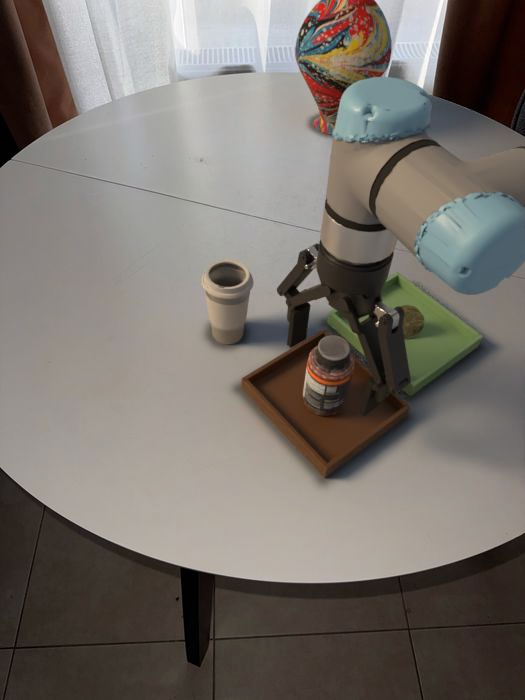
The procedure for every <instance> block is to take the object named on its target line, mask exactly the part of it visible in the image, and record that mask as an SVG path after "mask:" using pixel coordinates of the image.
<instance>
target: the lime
mask: <svg viewBox="0 0 525 700" xmlns="http://www.w3.org/2000/svg"><path fill="white" fill-rule="evenodd" d="M400 307H401V308H403V310H404V320H403V326H402V327H403V334H404V339H407V338H410V337H413V336H415V335H417V334H418V333H420V332H421V330H422V329H423V327H424V316H423V314H422V313H421V312H420V311H419V309H418V308H416V307H415V306H409V305H404V306H400Z"/></svg>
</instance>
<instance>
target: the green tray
mask: <svg viewBox="0 0 525 700" xmlns="http://www.w3.org/2000/svg"><path fill="white" fill-rule="evenodd" d="M381 297H382V303H384V304H385V305H387V306H388V307H390V308H391V309H394V308H395V307H397V306H404V305H409V306H415V307H416V308H418V309H419V311H420V312H421V313H422V314H423V316H424V327H423V329H422V330H421V332H420V333H418V334H417V335H415V336H413V337H410V338H407V339H404V340H405V346H406V353H407V359H408V365H409V372H410V378H411V383H410V384H409V385H408V386H406V387H405V388H403V389H402V390H401V391H403V392H404V393H405V394H406V395H408V396H409V397H412V396H413V395H415V394H416V393H417V392H418V391H420V390H421V389H423V388H424V387H425V386H426V385H428V384H429V383H431V382H432V381H434V380H435V379H436V378H437V377H439V376H441V375H442V374H443V373H444V372H446V371H447V370H448V369H450V368H451V367H453V366H454V365H455V364H456V363H458V362H460V361H461V360H462V359H464V358H465V357H466V356H467V355H469V354H470V353H472V352H473V351H475V349H477V348H479V346H480V344H481V342H482V340H483V338H484V336H483V335H482V334H481V333H480V332H478V331H477V330H475V329H474V328H473V327H472V326H470V325H469V324H468V323H466V322H465V321H464V320H462V319H461V318H460V317H458V316H457V315H456V314H454V313H453V312H452V311H450V310H449V309H448V308H447V307H445V306H444V305H443V304H441V302H439V301H437V300H436V299H435V298H433V297H432V296H431V295H429V294H428V293H426V292H425V291H424V290H423V289H421V288H420V287H419V286H417V285H416V284H415V283H414V282H412V281H411V280H410V279H408V278H407V277H406V276H405V275H403V274H402V273H401V272H400V271H397V272H395V273H393V274H391V275H390V276H388V278H387V280H386V282H385V284H384V286H383V288H382V290H381ZM368 317H369V315H366V316H364V317H361V318H359V322H362V321H364V320H365V319H367V318H368ZM326 323H327V325H329V326H330V327H331V328H332V329H333V330H334V331H335V332H337V334H339V336H340V337H342V338H343V339H345V340H346V341H347V342H348V344H349V345H351V346H352V347H354V349H356V350H357V351H358V352H359V353H360V354H362V356H363V357H365V354H364V351H363V349H362V346H361V343H360V341H359V338H358V335H357V334H356V333H353V332H352V330H351V328H350V325H349V322H348V320H347V319H345V318H344V317H343V316H342V315H341V314H340V312H339V311H338V310H336V309H334V308H333V309H332V310H330V311H329V312H328V316H327V321H326Z"/></svg>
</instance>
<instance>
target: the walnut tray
mask: <svg viewBox="0 0 525 700" xmlns="http://www.w3.org/2000/svg"><path fill="white" fill-rule="evenodd" d="M331 335H332V334H330V332H328V331H327V330H326V329H325V328H323V329H321V330H320V331H318V332H316V333H315V334H312V335H311V336H309V337H307V338H306V339H305V340H304V341H302V342H300V343H299V344H297V345H295V346H294V347H292V348H290V349H288V350H286V351H285V352H283V353H281V354H280V355H278V356H276V357H274V358H273V359H271V360H270V361H268V362H266V363H264V364H263V365H261V366H260V367H258V368H257V369H255V370H253V371H251V372H250V373H248V374H246V375H244V376H243V377H241V385H240V386H241V390H242V392H244V393H245V395H247V396H248V398H250V400H251V401H252V402H253V403H254V404H255V405H256V406H257V407H258V408H259V410H261V411H262V412H263V414H265V416H266V417H267V418H268V419H269V420H270V421H271V423H272V424H273V425H275V426H276V428H277V429H278V430H279V431H280V432H281V433H282V434H283V436H284V437H286V439H287V440H288V441H289V442H290V443H291V444H292V445H293V446H294V447H295V448H296V449H297V451H299V452H300V454H301V455H302V456H303V457H304V458H305V459H306V460H307V461H308V462H309V463H310V464H311V465H312V466H313V468H314V469H315V470H316V471H317V472H318V473H319V474H320V475H321V476H322V477H323V479H325V478H327V477H329V476H330V475H331V474H332V473H335V471H336V470H338V469H339V468H340V467H342V466H343V465H345V464H346V463H347V462H349V461H350V460H352V459H353V458H354V457H355V456H357V455H358V454H359V453H360V452H362V451H363V450H364V449H366V448H367V447H368V446H369V445H371V444H372V443H373V442H375V441H376V440H378V439H379V438H380V437H381V436H383V435H384V434H386V433H387V432H388V431H390V430H391V429H392V428H394V427H395V426H396V425H398V424H399V423H400V422H402V421H404V419H406V418H407V417H408V416H409V413H410V410H411V408H412V406H411V405H410V404H409V403H407V402H406V400H404V399H403V398H402V396H400V395H398V393H396V394H395V395H393V394H391V393H389V396H387V397H386V398H385V399H383V400H382V401H380V404H379V406H378V407H376V408H375V409H374V410H372V411H371V412H369V413H368V414H367V415H365V416H364V417H363V416H362V415H361V414H360V413H359V411H360V408H361V404H362V401H363V397H364V394H365V390H366V386H367V383H368V380H369V379H370V378H372V377H373V375H372V373H371V370H370V368H369V367H368V366H366V365H365V364H364V363H363V362H362V361H361V360H360V359H358V358H357V357H356V356H355V355H354V354H353V353H352V352H350V353H351V354H352V356H353V358H354V363H355V364H354V371H353V375H352V379H351V383H350V387H349V391H348V396H347V400H346V403H345V405H344V407H343V409H342V410H341V411H340V412H338V413H337V414H335V415H331V416H321V415H317V414H315V413H313V412H312V411H310V410H309V409H308V408H307V407H306V405H305V404H304V401H303V389H304V382H305V375H306V367H307V362H308V357H309V354H310V352H311V351H312V350H313V349H314V348H315V347H316V346H318V343H319V341H320V340H321V339H322V338H324V337H326V336H331Z"/></svg>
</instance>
